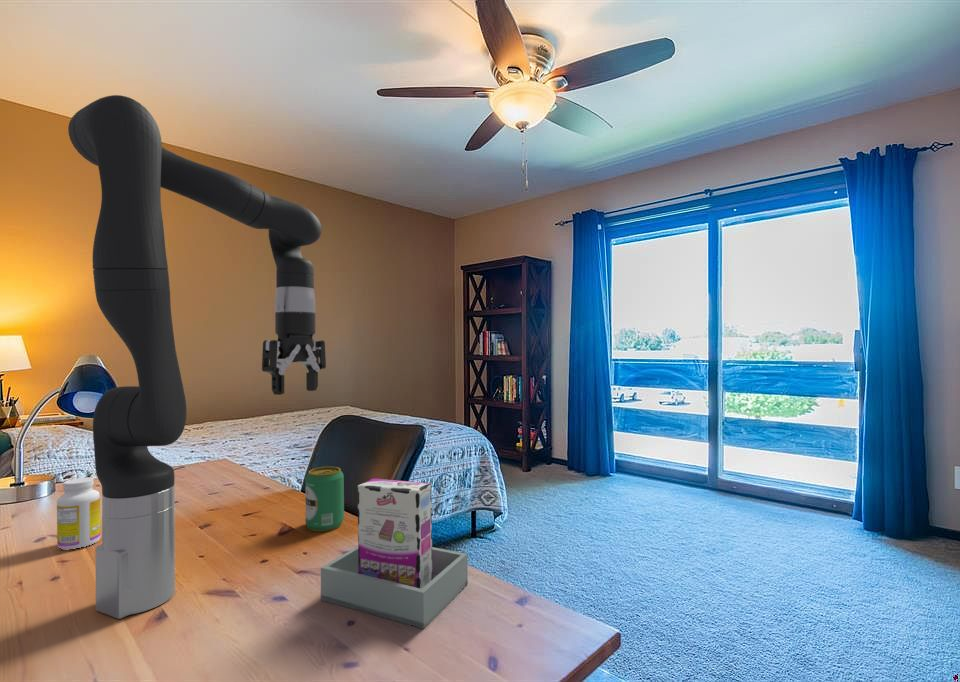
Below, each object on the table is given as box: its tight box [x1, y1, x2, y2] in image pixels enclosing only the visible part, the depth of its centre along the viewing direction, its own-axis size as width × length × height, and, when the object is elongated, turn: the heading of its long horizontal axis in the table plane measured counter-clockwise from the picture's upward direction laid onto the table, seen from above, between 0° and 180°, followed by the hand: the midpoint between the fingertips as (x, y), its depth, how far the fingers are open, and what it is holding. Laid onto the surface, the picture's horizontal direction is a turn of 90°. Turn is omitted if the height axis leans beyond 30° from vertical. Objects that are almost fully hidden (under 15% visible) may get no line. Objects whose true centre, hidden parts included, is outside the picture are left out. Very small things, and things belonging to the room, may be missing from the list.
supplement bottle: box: [56, 477, 101, 549], centre depth 97 cm, size 7×7×13 cm
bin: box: [320, 545, 469, 630], centre depth 77 cm, size 14×19×5 cm
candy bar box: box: [357, 478, 433, 589], centre depth 77 cm, size 11×5×16 cm, turn 70°
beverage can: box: [304, 466, 345, 532], centre depth 106 cm, size 8×8×12 cm
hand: (296, 392), depth 96 cm, fingers open, 8 cm apart
